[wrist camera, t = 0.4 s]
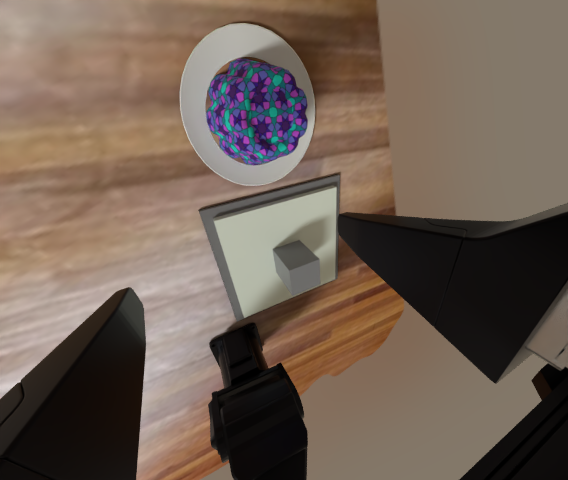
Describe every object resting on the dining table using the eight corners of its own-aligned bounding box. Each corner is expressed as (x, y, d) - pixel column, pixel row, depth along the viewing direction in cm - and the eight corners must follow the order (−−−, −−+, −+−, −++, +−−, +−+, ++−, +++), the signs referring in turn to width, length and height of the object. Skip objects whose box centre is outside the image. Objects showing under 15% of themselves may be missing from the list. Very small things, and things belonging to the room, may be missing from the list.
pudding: (154, 23, 15) (148, -15, 10) (310, 29, 18) (351, 2, 14) (202, 195, 21) (210, 214, 17) (312, 172, 25) (340, 183, 20)
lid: (332, 275, 33) (355, 299, 29) (242, 313, 29) (254, 346, 25) (332, 185, 26) (364, 198, 21) (212, 218, 21) (222, 242, 17)
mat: (335, 277, 34) (337, 278, 34) (236, 319, 29) (237, 321, 29) (337, 174, 26) (339, 175, 25) (198, 210, 21) (199, 211, 21)
